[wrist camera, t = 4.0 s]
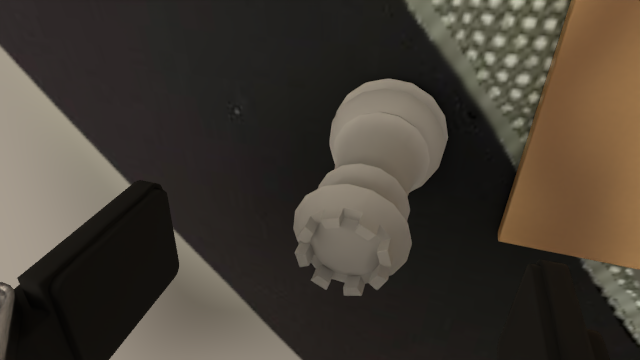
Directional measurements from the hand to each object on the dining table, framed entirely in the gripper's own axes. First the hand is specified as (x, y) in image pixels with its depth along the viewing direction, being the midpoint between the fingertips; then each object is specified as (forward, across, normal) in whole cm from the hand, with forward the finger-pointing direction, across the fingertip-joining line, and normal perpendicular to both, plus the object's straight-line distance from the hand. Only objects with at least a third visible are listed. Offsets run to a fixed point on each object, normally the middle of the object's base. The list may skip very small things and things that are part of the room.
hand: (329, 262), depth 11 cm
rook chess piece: (+8, 0, 0) cm, 8 cm away
